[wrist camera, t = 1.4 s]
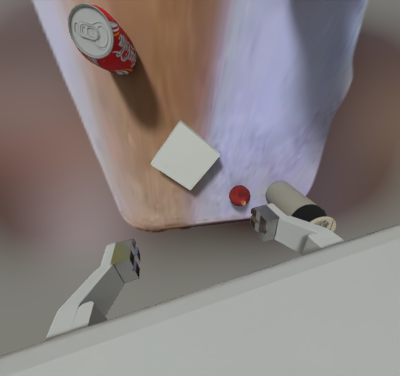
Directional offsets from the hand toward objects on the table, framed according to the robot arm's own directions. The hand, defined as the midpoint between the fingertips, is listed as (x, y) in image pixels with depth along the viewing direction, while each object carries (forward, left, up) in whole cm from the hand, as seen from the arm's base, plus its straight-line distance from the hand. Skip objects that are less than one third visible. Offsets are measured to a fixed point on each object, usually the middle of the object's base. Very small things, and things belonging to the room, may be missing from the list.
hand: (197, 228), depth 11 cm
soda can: (+3, -21, -35) cm, 40 cm away
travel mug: (-15, +29, -35) cm, 48 cm away
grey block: (+3, +3, -34) cm, 35 cm away
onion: (-4, +21, -35) cm, 41 cm away
